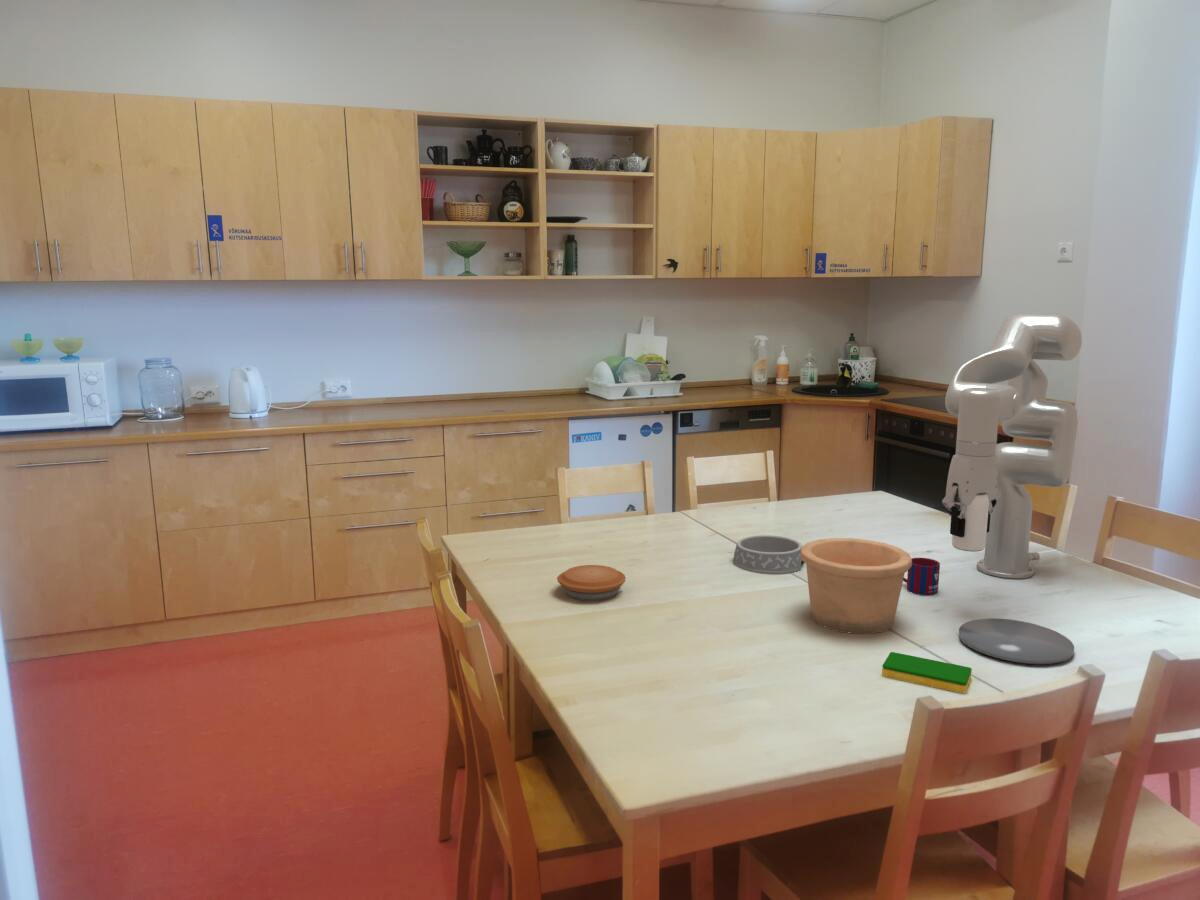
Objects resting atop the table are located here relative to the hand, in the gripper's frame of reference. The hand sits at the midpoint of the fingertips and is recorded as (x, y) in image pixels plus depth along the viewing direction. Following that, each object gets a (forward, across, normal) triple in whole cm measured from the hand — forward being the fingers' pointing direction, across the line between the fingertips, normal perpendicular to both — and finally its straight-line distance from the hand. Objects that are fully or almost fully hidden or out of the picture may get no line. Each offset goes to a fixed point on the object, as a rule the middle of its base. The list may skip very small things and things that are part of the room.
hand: (969, 532), depth 178 cm
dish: (+17, +5, +16) cm, 24 cm away
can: (+3, 0, 0) cm, 3 cm away
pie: (+17, +66, -46) cm, 82 cm away
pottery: (+18, +24, -8) cm, 31 cm away
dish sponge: (+18, +31, +19) cm, 40 cm away
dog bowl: (+18, +16, -46) cm, 52 cm away
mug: (+18, -2, -16) cm, 24 cm away
